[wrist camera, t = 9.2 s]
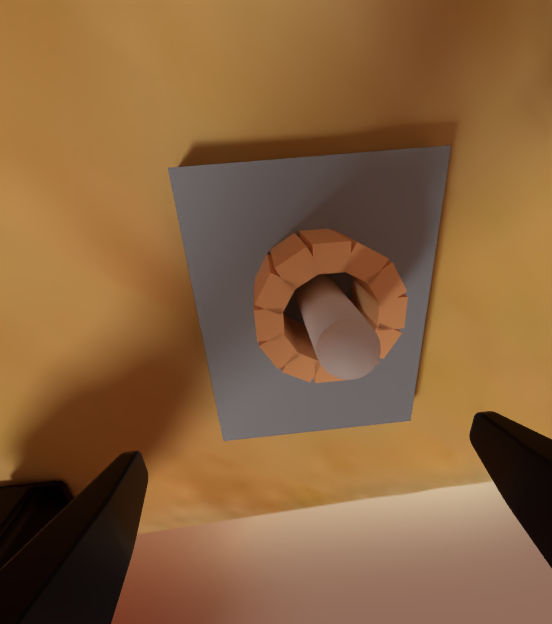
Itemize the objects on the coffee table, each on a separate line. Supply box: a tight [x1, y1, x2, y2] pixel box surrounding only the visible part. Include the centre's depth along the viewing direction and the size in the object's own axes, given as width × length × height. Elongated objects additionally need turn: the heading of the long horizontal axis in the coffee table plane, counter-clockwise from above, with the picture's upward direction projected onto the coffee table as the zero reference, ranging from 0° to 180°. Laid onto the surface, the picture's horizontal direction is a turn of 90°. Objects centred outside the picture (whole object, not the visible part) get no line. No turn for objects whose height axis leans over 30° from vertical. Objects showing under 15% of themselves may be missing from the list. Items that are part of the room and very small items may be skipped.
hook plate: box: [168, 145, 451, 441], centre depth 15 cm, size 18×14×9 cm
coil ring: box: [254, 228, 408, 383], centre depth 15 cm, size 7×7×4 cm
